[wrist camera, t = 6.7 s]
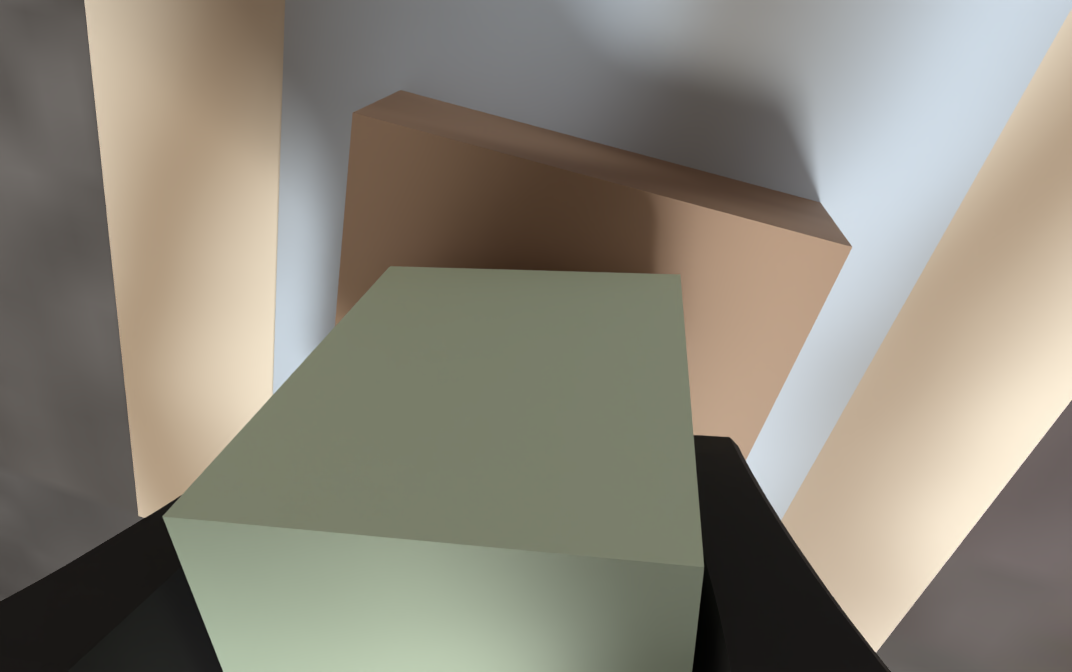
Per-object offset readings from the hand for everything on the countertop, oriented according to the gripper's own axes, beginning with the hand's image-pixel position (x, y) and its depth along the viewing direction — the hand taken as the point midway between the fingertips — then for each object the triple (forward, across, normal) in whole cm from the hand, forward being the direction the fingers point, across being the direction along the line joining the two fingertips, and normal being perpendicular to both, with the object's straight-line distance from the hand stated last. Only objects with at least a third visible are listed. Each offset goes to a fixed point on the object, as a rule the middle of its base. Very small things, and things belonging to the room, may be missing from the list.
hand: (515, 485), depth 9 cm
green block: (+2, 0, 0) cm, 2 cm away
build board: (+5, 0, 0) cm, 5 cm away
